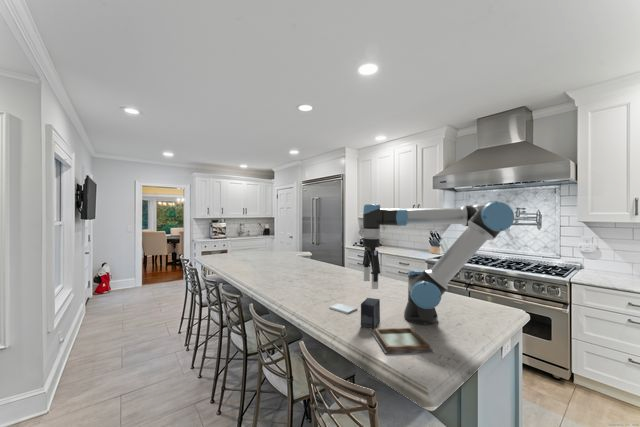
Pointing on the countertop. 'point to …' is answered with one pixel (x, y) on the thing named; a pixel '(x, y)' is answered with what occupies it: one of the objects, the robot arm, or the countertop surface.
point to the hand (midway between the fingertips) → (370, 284)
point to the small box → (370, 313)
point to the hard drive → (343, 308)
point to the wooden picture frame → (400, 341)
